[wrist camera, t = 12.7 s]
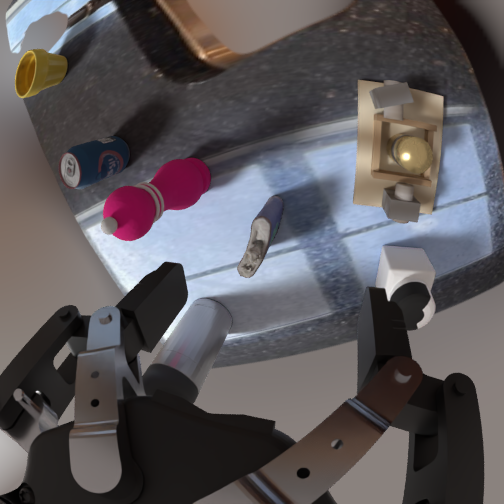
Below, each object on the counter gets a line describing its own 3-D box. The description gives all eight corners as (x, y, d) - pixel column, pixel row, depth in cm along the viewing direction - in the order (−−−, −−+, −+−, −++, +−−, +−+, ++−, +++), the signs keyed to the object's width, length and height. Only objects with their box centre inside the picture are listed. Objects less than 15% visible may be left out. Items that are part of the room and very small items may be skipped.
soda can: (128, 177, 43) (80, 199, 33) (103, 164, 44) (55, 183, 34) (136, 141, 40) (84, 156, 30) (109, 130, 40) (58, 143, 30)
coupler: (419, 154, 29) (439, 162, 23) (396, 169, 31) (411, 180, 25) (403, 128, 28) (421, 129, 22) (380, 143, 30) (392, 148, 24)
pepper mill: (217, 159, 38) (130, 204, 21) (210, 203, 42) (132, 271, 25) (175, 150, 39) (78, 187, 22) (171, 192, 43) (84, 248, 26)
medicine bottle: (374, 283, 41) (382, 336, 30) (381, 244, 37) (396, 292, 27) (413, 286, 39) (430, 337, 29) (423, 247, 35) (448, 294, 25)
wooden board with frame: (429, 213, 33) (442, 229, 28) (352, 203, 36) (356, 218, 31) (440, 96, 24) (458, 95, 19) (357, 80, 27) (363, 74, 22)
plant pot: (63, 98, 38) (27, 104, 30) (43, 85, 38) (10, 91, 30) (79, 53, 33) (41, 53, 25) (57, 45, 32) (23, 46, 24)
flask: (270, 192, 38) (250, 220, 29) (289, 200, 38) (275, 230, 29) (252, 244, 43) (230, 283, 34) (269, 251, 43) (251, 292, 34)
